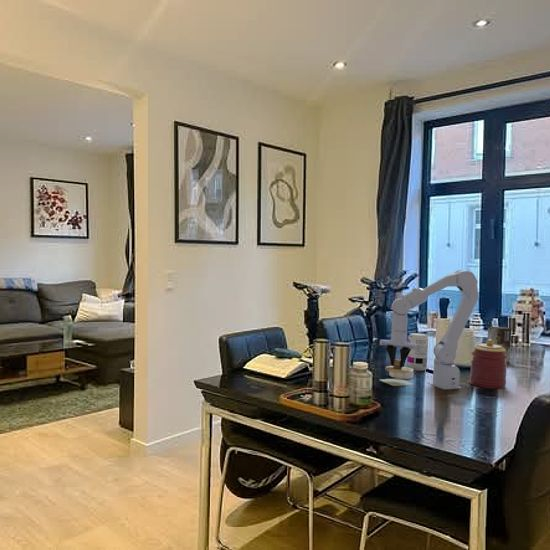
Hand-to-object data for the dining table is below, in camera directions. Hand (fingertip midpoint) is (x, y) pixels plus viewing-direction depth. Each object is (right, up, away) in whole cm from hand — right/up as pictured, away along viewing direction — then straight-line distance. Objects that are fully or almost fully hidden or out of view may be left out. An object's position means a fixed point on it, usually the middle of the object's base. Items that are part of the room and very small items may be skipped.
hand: (397, 366), depth 199 cm
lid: (0, -2, 0) cm, 2 cm away
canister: (+35, -8, +3) cm, 36 cm away
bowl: (+4, -6, +11) cm, 13 cm away
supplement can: (+14, -6, +27) cm, 31 cm away
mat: (0, -6, 0) cm, 6 cm away
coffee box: (+61, -7, +54) cm, 81 cm away
